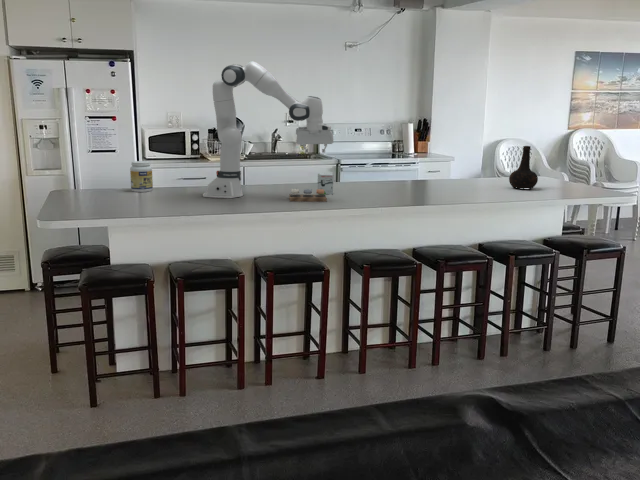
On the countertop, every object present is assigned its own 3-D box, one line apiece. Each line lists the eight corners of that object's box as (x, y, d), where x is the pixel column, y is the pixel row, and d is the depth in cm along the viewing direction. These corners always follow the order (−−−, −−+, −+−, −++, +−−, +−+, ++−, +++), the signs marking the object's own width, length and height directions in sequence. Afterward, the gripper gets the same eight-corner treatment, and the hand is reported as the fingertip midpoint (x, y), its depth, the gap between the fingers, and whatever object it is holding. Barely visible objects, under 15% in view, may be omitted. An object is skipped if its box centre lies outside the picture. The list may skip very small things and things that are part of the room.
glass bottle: (508, 189, 389) (512, 146, 382) (508, 186, 406) (512, 144, 399) (537, 191, 384) (542, 147, 377) (536, 187, 401) (540, 145, 394)
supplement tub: (139, 193, 343) (138, 163, 339) (126, 190, 350) (125, 161, 346) (157, 190, 353) (156, 161, 349) (144, 188, 360) (143, 160, 356)
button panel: (290, 201, 327) (290, 197, 326) (289, 197, 338) (289, 193, 338) (326, 201, 329) (326, 197, 328) (324, 198, 340) (324, 194, 340)
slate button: (304, 193, 330) (304, 190, 330) (303, 192, 334) (303, 188, 334) (312, 193, 331) (312, 190, 330) (311, 192, 335) (311, 189, 334)
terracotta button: (316, 193, 331) (316, 190, 330) (316, 192, 335) (316, 189, 335) (324, 193, 331) (324, 190, 331) (323, 192, 336) (323, 189, 335)
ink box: (319, 194, 352) (319, 174, 350) (316, 193, 357) (317, 173, 354) (333, 194, 355) (333, 174, 352) (331, 193, 359) (331, 173, 357)
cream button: (291, 193, 330) (291, 190, 329) (290, 192, 334) (290, 188, 333) (299, 193, 330) (299, 190, 330) (298, 192, 334) (298, 188, 334)
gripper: (294, 127, 325) (295, 153, 328) (332, 127, 322) (332, 153, 326) (296, 126, 331) (297, 152, 334) (333, 126, 328) (333, 151, 332)
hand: (315, 152), depth 330 cm, fingers open, 8 cm apart
